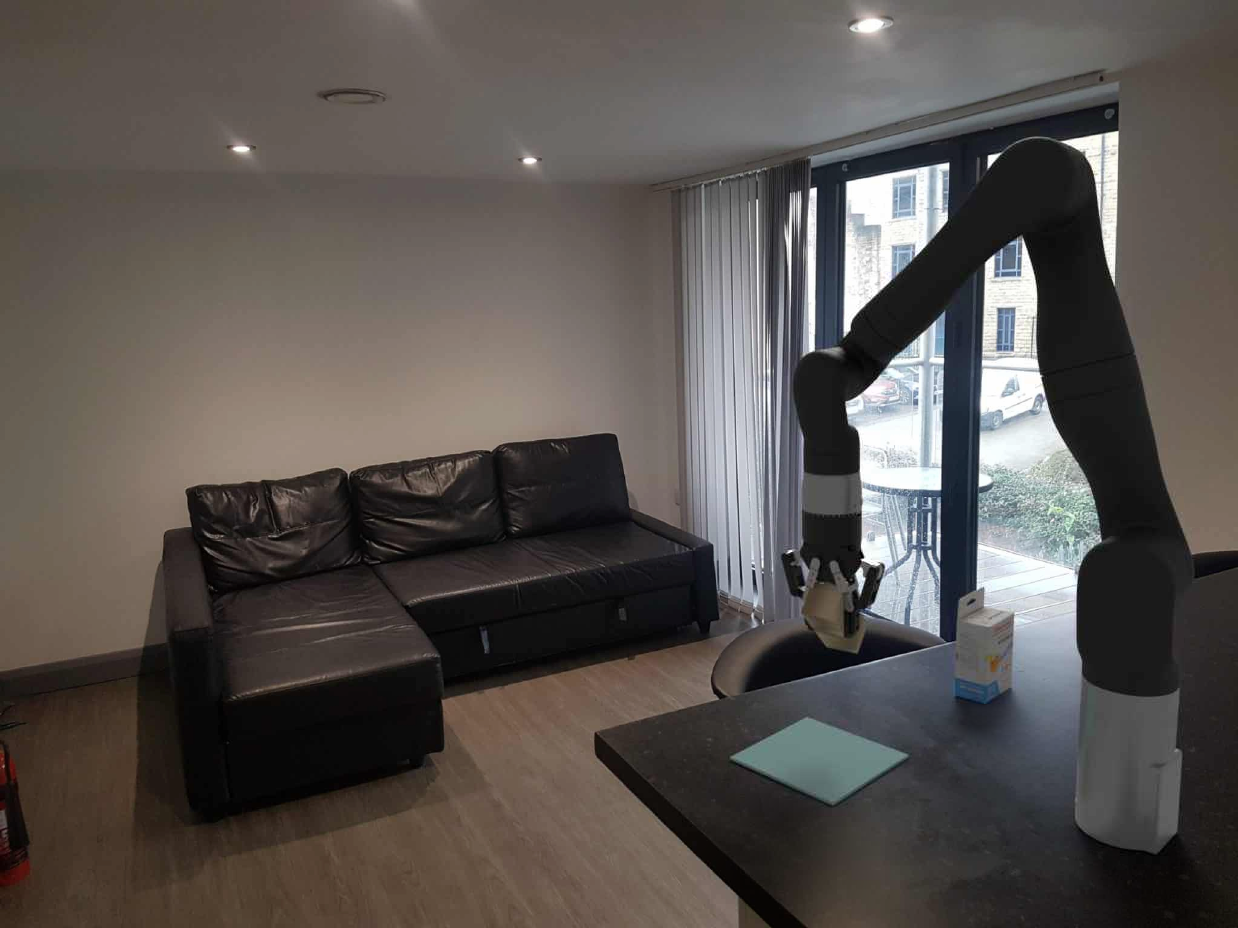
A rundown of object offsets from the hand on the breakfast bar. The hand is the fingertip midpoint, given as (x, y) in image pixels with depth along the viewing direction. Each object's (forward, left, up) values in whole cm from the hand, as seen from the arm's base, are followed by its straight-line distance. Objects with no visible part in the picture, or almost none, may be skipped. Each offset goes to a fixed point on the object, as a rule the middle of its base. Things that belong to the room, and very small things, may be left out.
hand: (831, 632), depth 124 cm
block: (+1, -5, -2) cm, 5 cm away
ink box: (-7, -28, -15) cm, 32 cm away
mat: (-2, +5, -15) cm, 16 cm away
